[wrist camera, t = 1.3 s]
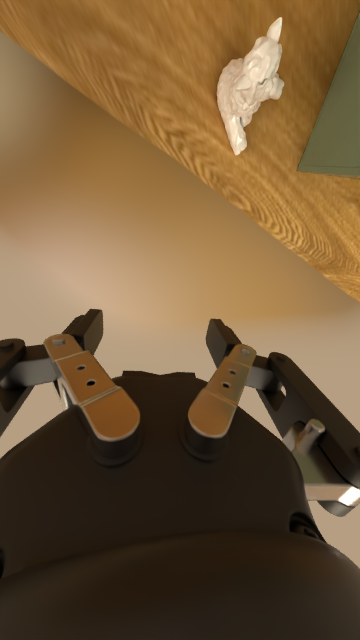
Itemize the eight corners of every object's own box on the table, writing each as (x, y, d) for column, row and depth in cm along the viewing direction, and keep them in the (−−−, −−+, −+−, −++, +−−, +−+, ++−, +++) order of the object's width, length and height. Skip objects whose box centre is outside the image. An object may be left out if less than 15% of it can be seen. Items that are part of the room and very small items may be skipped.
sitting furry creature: (237, 158, 33) (260, 157, 23) (198, 119, 29) (207, 99, 20) (282, 88, 28) (335, 52, 18) (241, 31, 24) (280, -47, 15)
